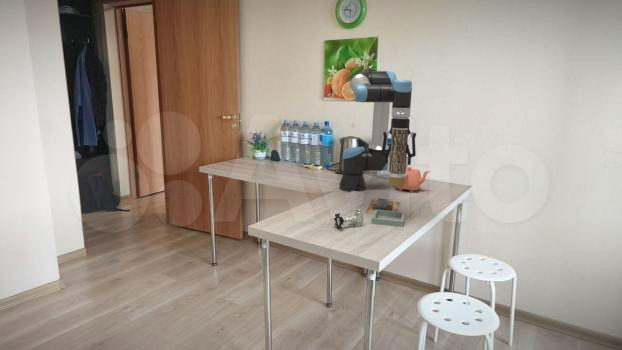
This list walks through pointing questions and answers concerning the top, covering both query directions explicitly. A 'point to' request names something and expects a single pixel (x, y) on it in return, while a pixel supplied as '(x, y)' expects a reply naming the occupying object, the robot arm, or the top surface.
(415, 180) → the teapot
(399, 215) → the tray
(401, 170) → the log cylinder
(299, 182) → the top surface
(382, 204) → the block
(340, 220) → the valve
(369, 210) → the board
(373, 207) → the walnut plate
